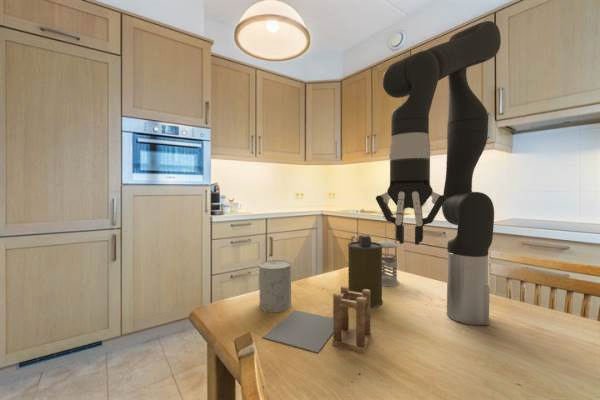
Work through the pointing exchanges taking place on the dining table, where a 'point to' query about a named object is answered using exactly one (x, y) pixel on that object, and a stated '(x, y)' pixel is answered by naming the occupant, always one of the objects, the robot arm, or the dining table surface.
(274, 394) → the dining table surface
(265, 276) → the grey mottled cylinder
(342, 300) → the wooden dowel frame
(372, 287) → the canister
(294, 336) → the mat
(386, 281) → the french press
